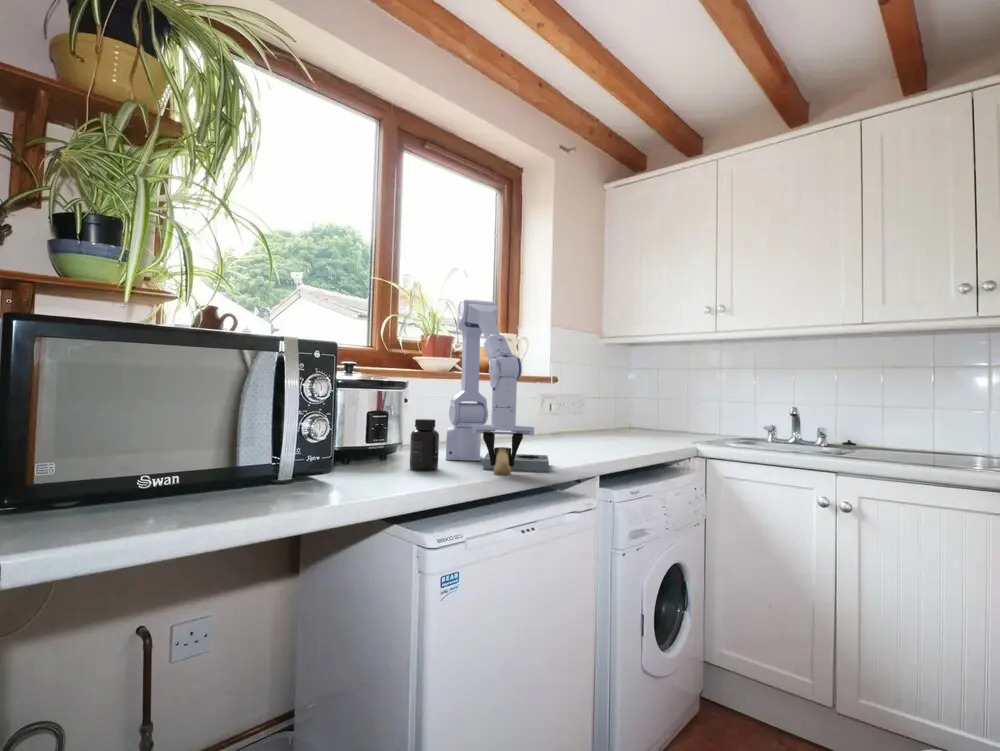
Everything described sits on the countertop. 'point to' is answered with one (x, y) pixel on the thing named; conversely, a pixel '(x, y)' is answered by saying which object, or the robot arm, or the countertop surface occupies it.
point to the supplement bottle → (424, 446)
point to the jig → (523, 463)
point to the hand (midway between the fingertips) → (502, 465)
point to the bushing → (502, 460)
